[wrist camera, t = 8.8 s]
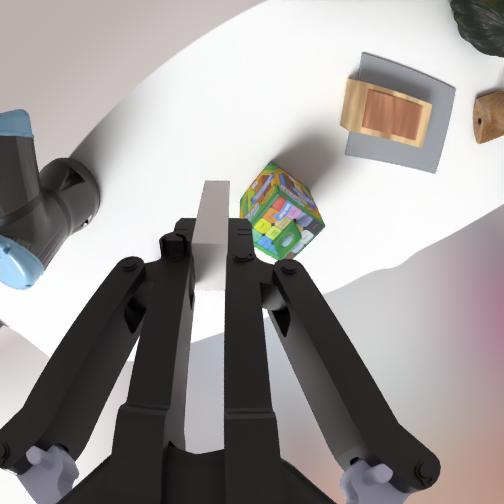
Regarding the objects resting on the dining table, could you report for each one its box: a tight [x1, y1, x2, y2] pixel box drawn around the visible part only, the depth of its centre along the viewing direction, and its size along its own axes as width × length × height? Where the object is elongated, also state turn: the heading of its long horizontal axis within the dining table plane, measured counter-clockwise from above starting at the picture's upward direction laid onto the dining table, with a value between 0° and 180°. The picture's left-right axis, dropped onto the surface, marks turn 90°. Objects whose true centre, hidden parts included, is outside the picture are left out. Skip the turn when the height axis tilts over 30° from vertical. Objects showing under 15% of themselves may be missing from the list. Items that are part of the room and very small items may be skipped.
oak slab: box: [340, 79, 432, 148], centre depth 36 cm, size 4×8×14 cm
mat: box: [345, 53, 456, 174], centre depth 38 cm, size 20×18×1 cm
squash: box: [450, 0, 504, 57], centre depth 19 cm, size 14×15×15 cm
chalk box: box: [240, 162, 325, 260], centre depth 42 cm, size 9×9×15 cm
